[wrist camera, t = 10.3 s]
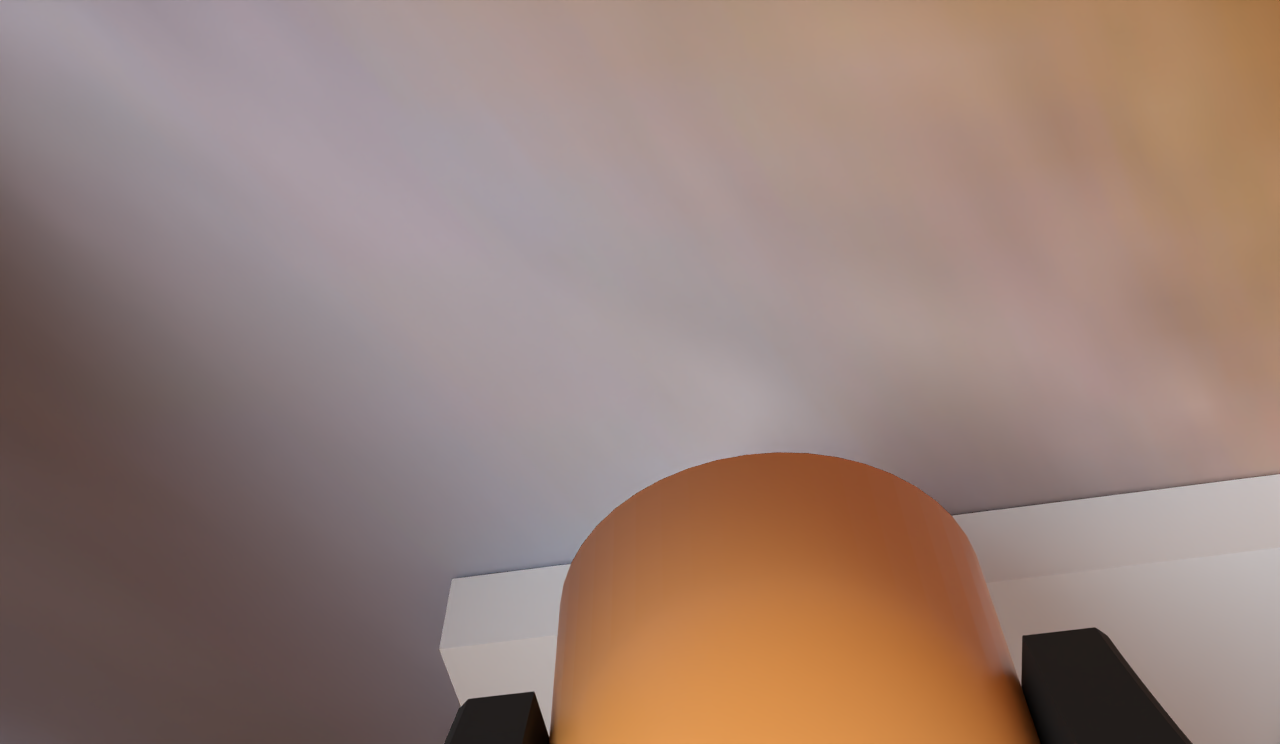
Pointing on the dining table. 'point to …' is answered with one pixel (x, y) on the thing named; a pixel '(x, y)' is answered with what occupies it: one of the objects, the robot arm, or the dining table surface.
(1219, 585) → the board
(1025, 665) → the robot arm
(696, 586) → the cap
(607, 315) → the dining table surface
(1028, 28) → the dining table surface
